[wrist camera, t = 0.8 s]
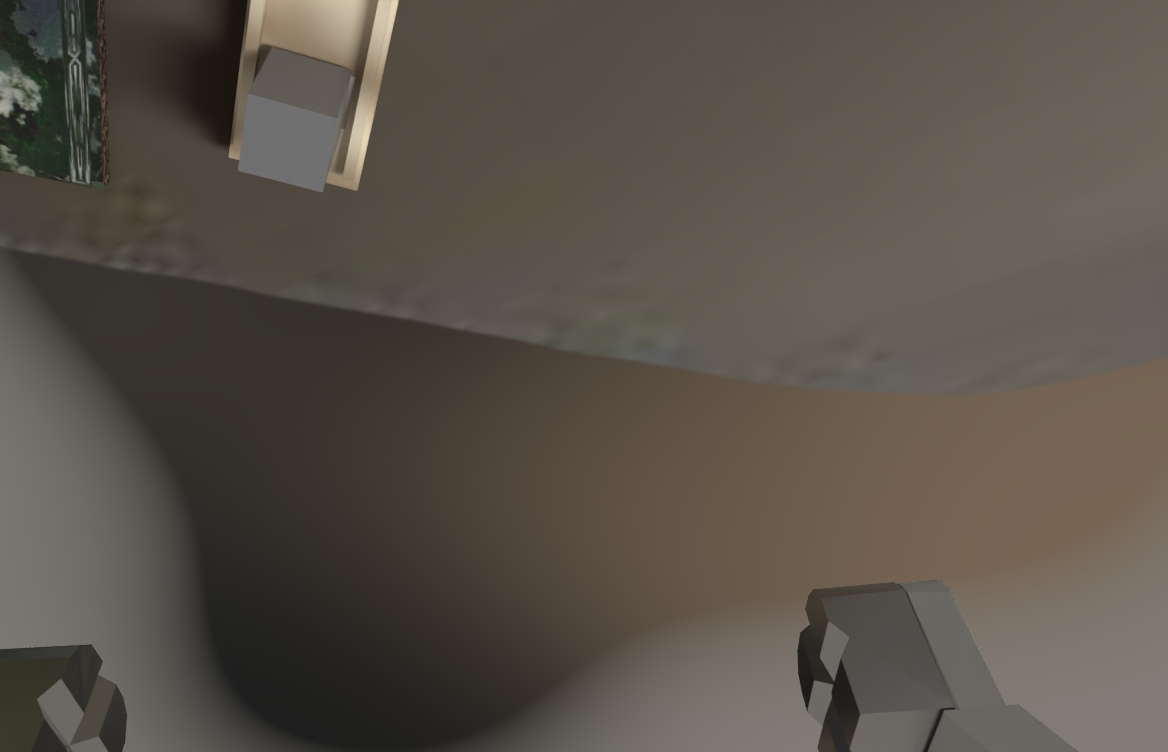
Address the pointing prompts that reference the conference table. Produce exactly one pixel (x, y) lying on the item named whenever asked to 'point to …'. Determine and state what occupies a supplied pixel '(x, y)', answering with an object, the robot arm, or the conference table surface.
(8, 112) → the floral canvas painting
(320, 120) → the grey rectangular block
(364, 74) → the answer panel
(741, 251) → the conference table surface
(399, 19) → the conference table surface
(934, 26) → the conference table surface
